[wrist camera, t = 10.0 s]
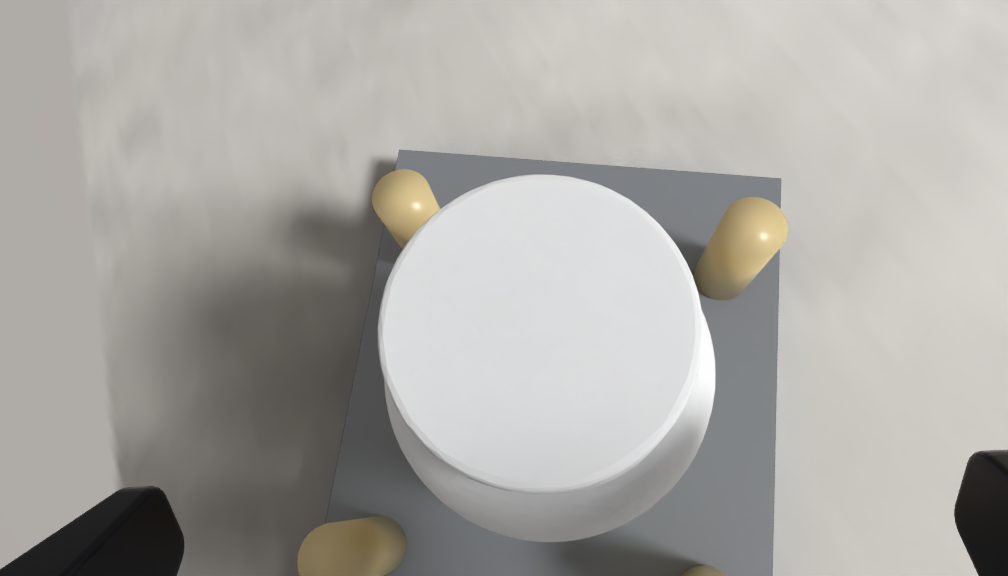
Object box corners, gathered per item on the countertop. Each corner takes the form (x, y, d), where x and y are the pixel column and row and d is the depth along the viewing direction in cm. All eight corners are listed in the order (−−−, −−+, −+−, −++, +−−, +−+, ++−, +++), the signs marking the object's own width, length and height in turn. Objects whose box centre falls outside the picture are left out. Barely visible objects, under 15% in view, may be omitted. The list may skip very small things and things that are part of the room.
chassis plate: (754, 735, 16) (826, 834, 11) (314, 655, 17) (224, 713, 13) (768, 196, 20) (827, 110, 15) (408, 167, 21) (364, 81, 17)
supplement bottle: (412, 421, 18) (229, 344, 8) (545, 273, 18) (516, 52, 9) (568, 571, 16) (559, 680, 7) (706, 403, 17) (864, 295, 8)
